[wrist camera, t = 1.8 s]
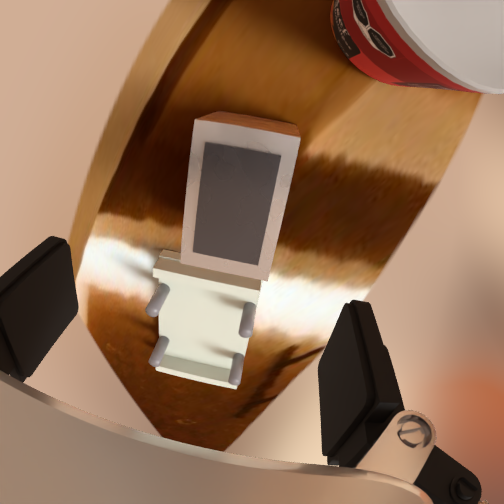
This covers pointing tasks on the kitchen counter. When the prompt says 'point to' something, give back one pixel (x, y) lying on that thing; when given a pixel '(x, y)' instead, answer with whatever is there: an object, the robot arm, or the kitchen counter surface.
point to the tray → (202, 321)
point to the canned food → (424, 42)
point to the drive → (237, 192)
